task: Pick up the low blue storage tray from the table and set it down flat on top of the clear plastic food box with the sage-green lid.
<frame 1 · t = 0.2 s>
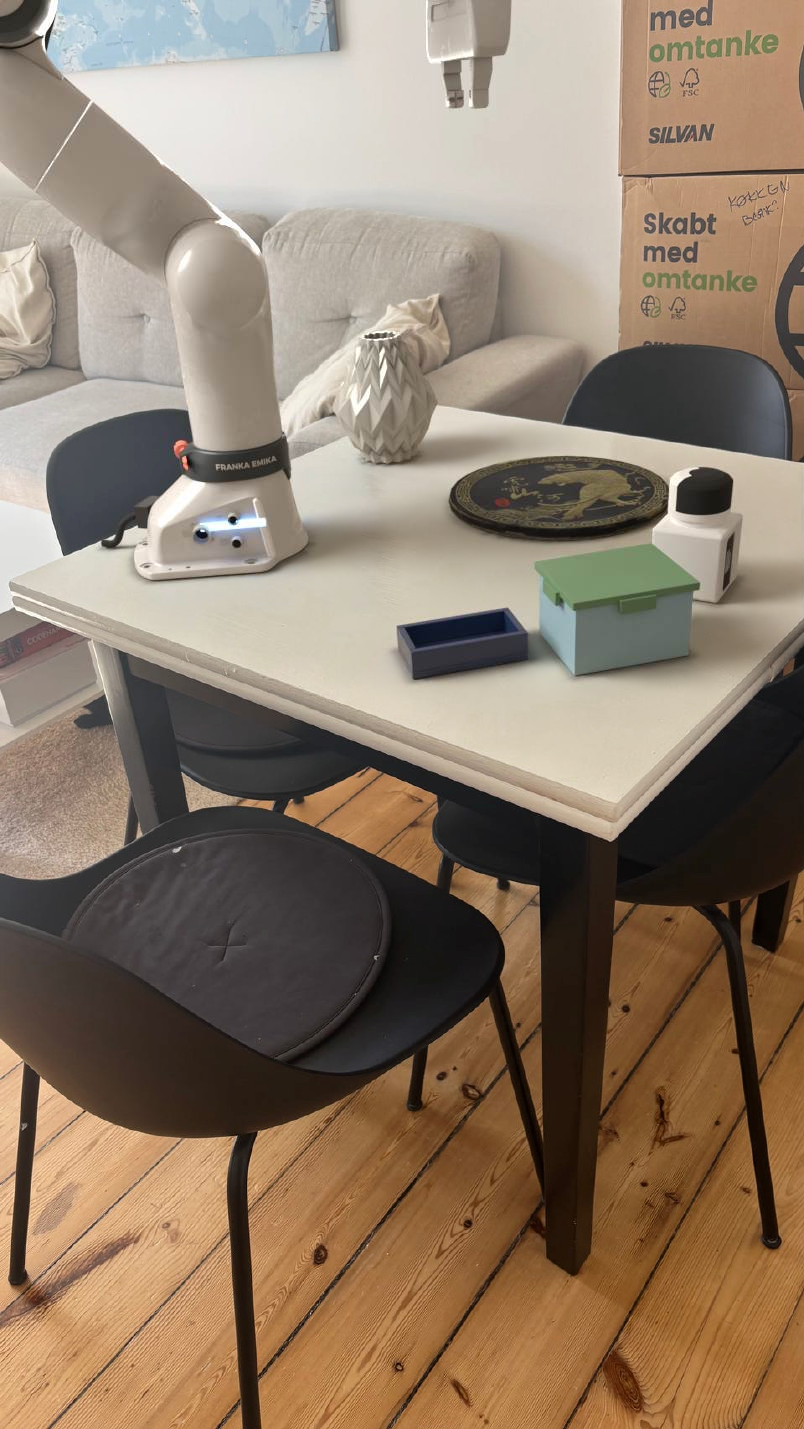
hand: (466, 108, 118), 48 cm above the table, tool pointing down, fingers open, 8 cm apart
vase: (389, 457, 167), on the table
food box: (611, 644, 108), on the table
decorative plate: (558, 502, 145), on the table
container: (692, 587, 118), on the table
low blue storage tray: (462, 655, 108), on the table
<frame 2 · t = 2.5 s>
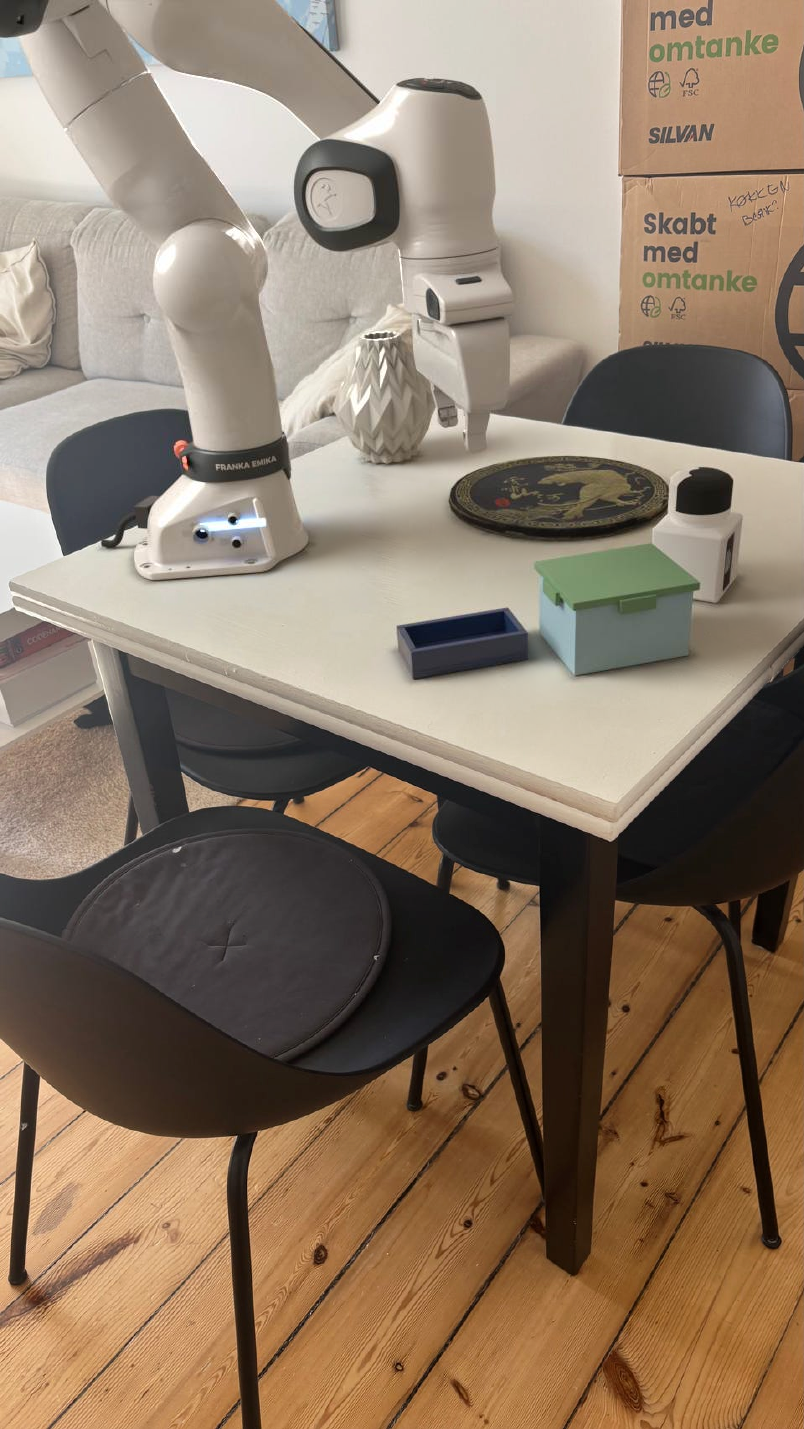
hand: (461, 437, 102), 21 cm above the table, tool pointing down, fingers open, 8 cm apart
nothing on the table moved.
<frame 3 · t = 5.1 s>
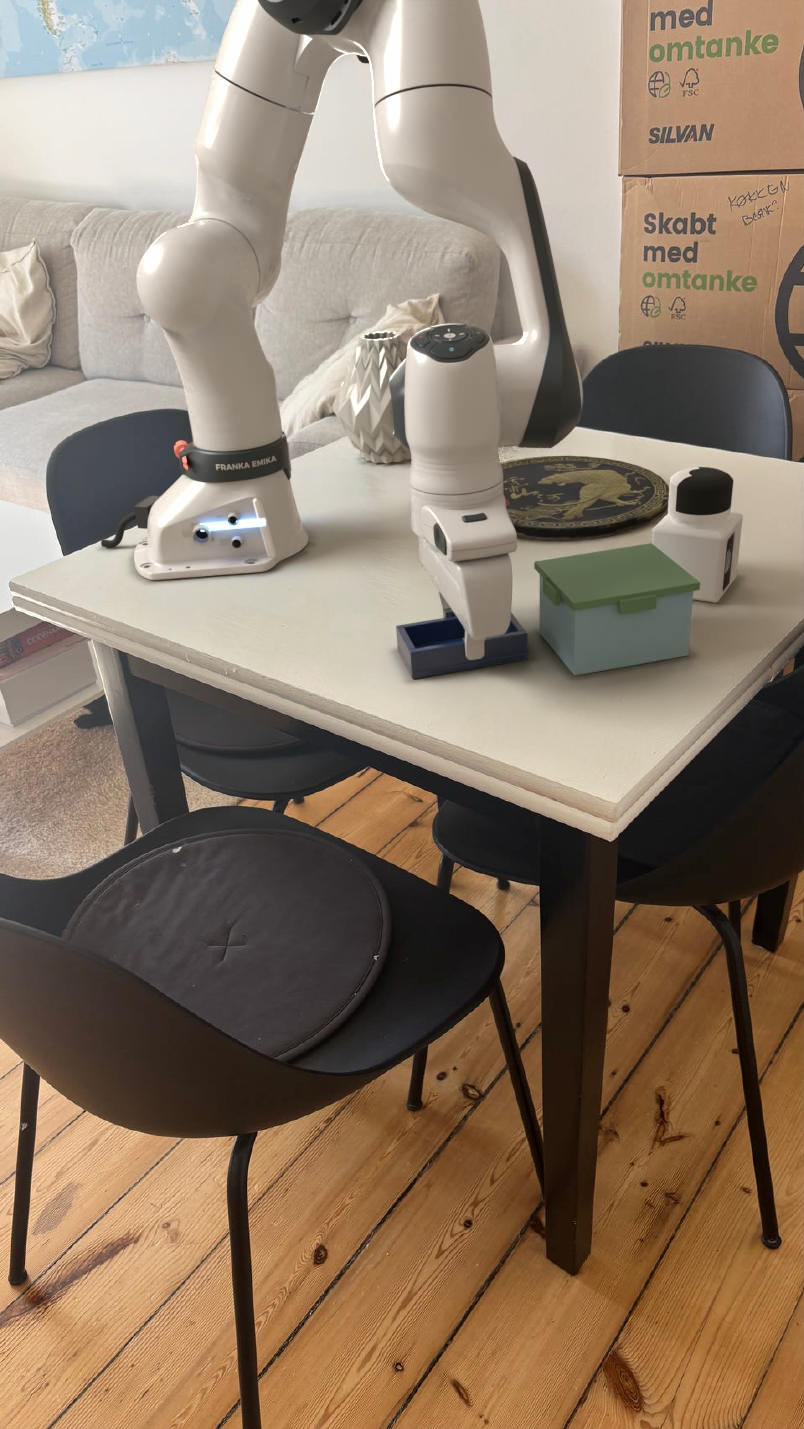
hand: (462, 639, 107), 2 cm above the table, tool pointing down, fingers closed on low blue storage tray, 6 cm apart
low blue storage tray: (461, 655, 108), on the table, touching gripper
everything else where it was.
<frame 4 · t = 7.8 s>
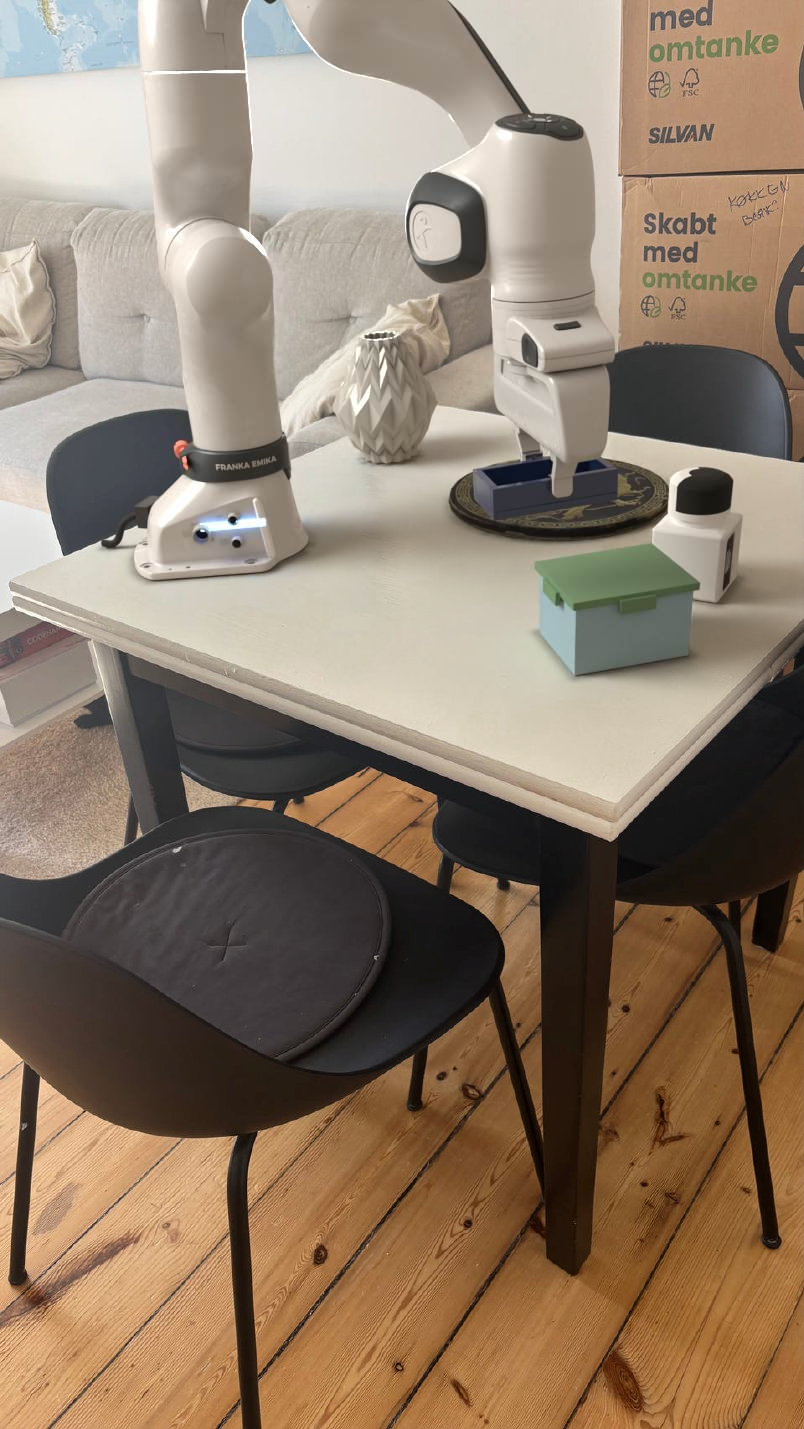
hand: (546, 482, 98), 18 cm above the table, tool pointing down, fingers closed on low blue storage tray, 6 cm apart
low blue storage tray: (544, 499, 99), point 16 cm above the table, touching gripper
everything else where it was.
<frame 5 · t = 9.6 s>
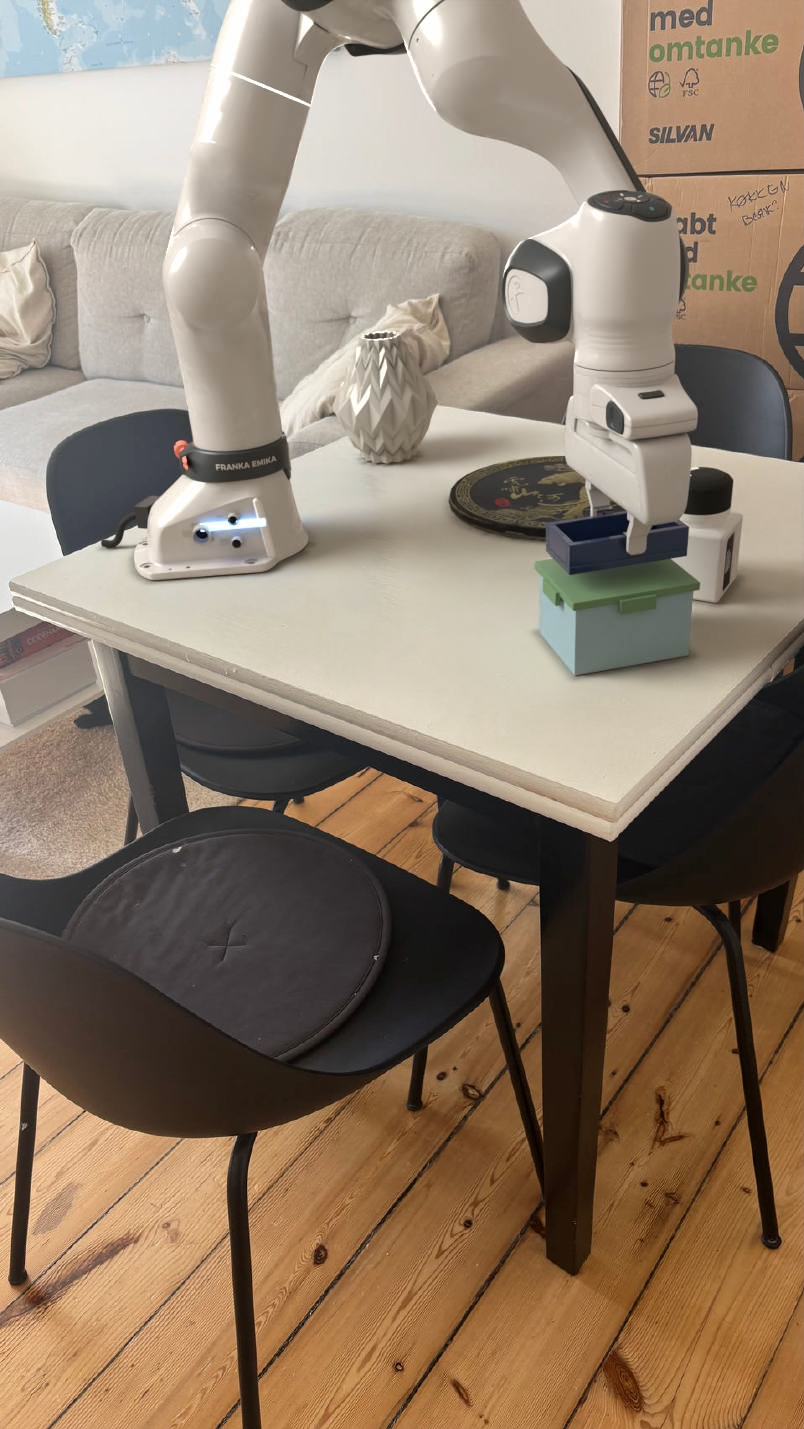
hand: (617, 537, 102), 11 cm above the table, tool pointing down, fingers closed on low blue storage tray, 6 cm apart
low blue storage tray: (615, 553, 103), point 10 cm above the table, touching gripper
everything else where it was.
when the fingers open (9 cm above the table, at t = 10.8 s): low blue storage tray stays where it is, resting on food box.
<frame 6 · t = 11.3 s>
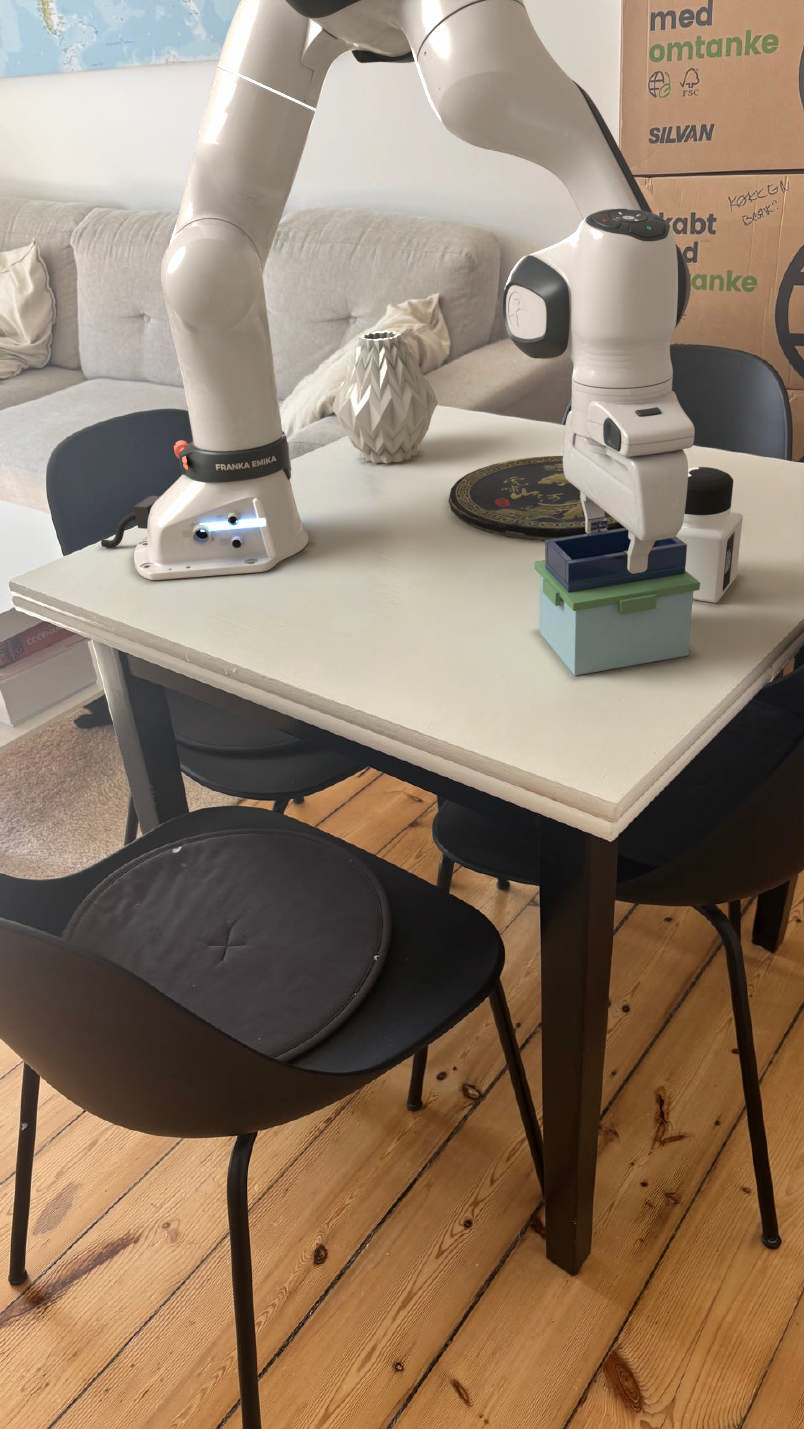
hand: (614, 552, 102), 10 cm above the table, tool pointing down, fingers open, 8 cm apart
low blue storage tray: (613, 570, 104), point 8 cm above the table, touching food box
everything else where it was.
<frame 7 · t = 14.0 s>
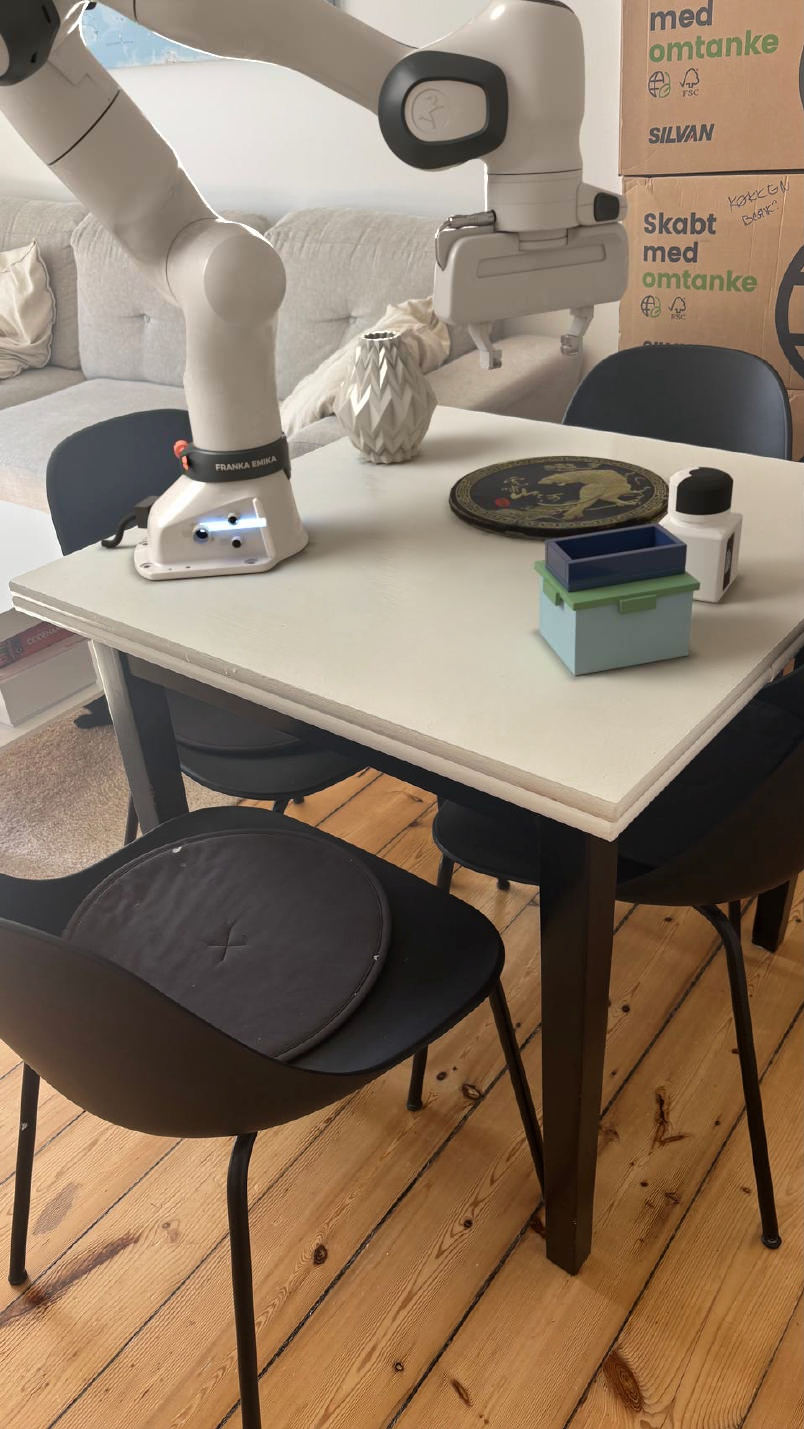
hand: (531, 361, 104), 26 cm above the table, tool pointing down, fingers open, 8 cm apart
nothing on the table moved.
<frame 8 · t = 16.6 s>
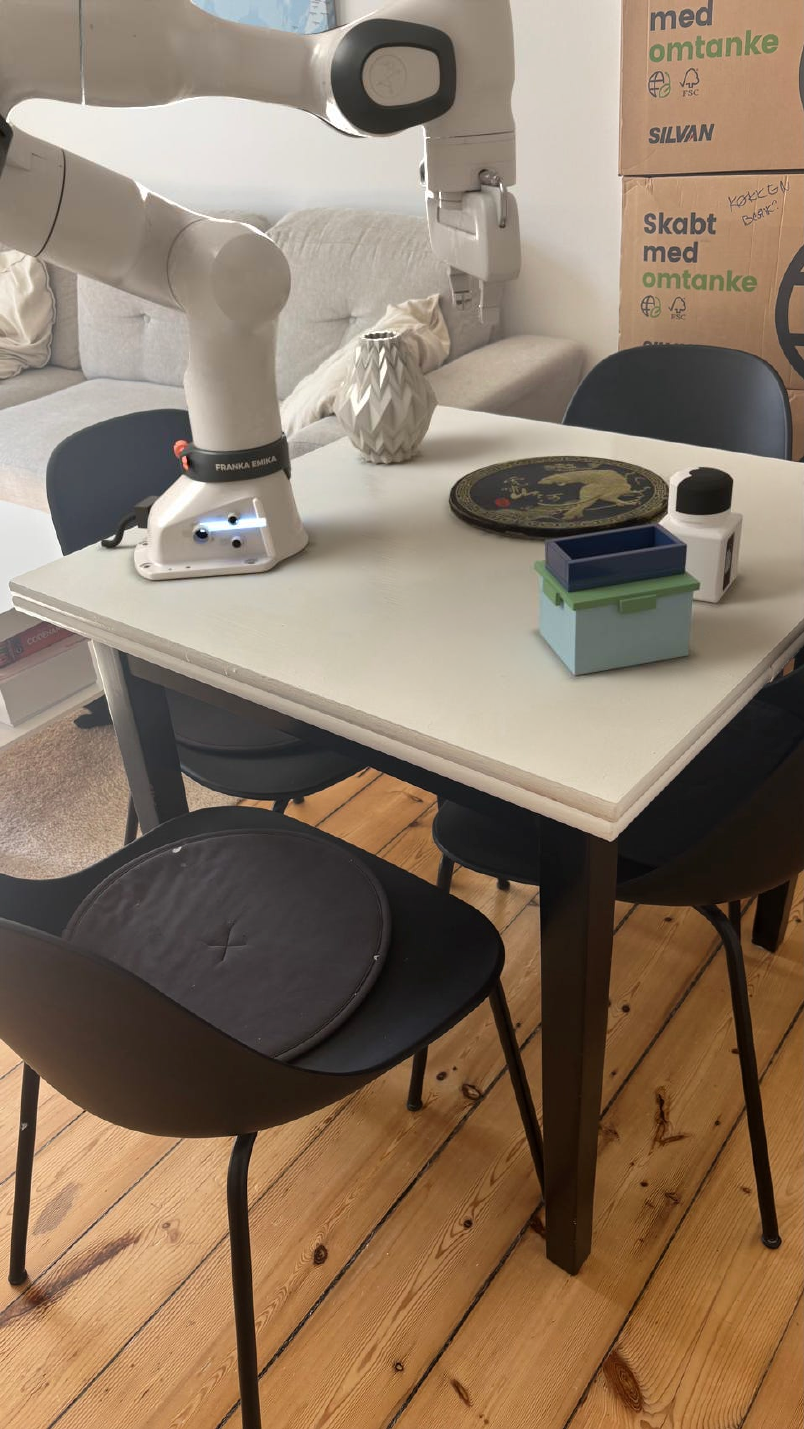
hand: (475, 316, 110), 29 cm above the table, tool pointing down, fingers open, 8 cm apart
nothing on the table moved.
at the end: low blue storage tray 0.2 cm off-centre on the food box, point 8.0 cm above the food box's base; low blue storage tray tilted 0°; the gripper is holding nothing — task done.
